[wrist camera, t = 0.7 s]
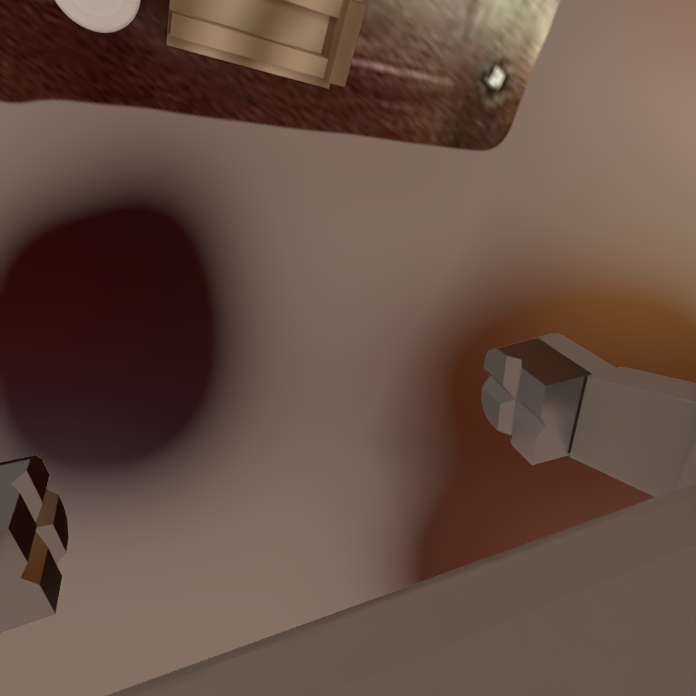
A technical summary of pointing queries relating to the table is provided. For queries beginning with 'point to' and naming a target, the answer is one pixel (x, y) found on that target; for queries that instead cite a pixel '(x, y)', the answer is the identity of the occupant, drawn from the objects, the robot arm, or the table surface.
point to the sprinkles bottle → (100, 13)
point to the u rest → (272, 35)
